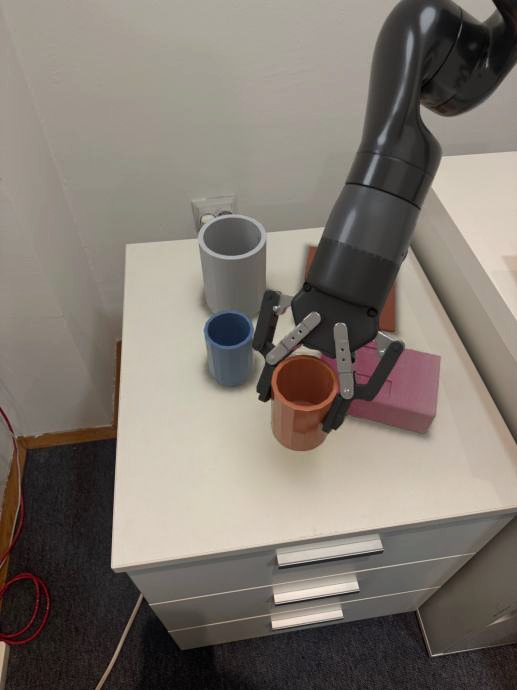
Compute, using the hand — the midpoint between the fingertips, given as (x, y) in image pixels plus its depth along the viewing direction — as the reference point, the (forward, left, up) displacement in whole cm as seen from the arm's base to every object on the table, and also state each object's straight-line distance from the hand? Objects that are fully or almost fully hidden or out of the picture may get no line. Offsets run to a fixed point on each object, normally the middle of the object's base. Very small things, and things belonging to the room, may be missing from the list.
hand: (295, 414), depth 47 cm
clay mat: (-5, -31, -14) cm, 35 cm away
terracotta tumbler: (-1, -2, -5) cm, 5 cm away
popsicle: (-7, -13, -14) cm, 20 cm away
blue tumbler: (+10, -13, -14) cm, 21 cm away
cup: (+12, -26, -14) cm, 32 cm away
